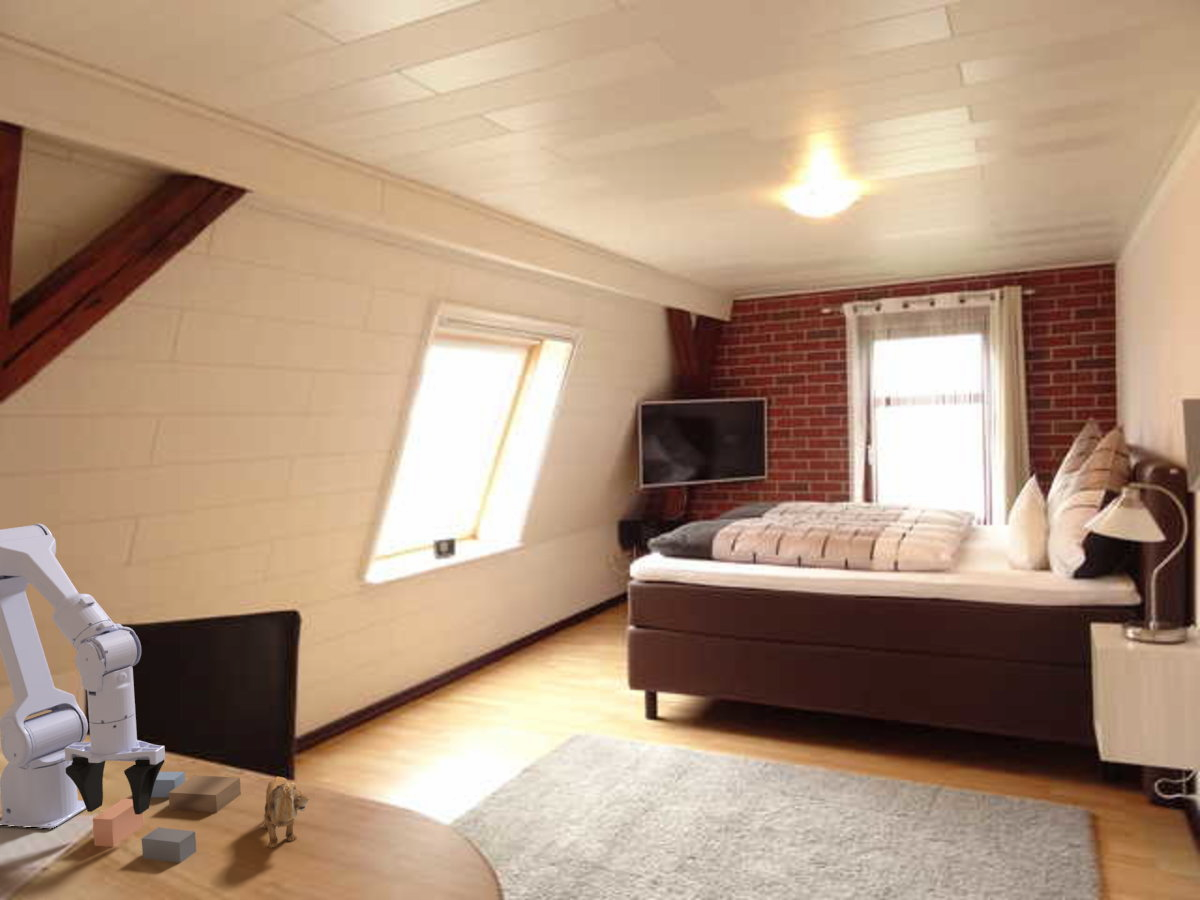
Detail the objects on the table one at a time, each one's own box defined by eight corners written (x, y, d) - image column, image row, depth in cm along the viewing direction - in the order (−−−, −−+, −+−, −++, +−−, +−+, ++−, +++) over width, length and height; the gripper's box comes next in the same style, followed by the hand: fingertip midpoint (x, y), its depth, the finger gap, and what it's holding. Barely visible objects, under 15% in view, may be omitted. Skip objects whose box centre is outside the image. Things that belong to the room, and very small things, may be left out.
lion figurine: (314, 847, 116) (310, 783, 115) (273, 860, 113) (270, 794, 112) (287, 807, 128) (284, 749, 128) (250, 817, 125) (247, 758, 125)
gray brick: (143, 859, 114) (141, 838, 114) (159, 848, 117) (158, 827, 117) (180, 864, 113) (179, 842, 113) (196, 852, 116) (195, 831, 116)
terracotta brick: (94, 846, 118) (92, 818, 118) (125, 825, 124) (123, 798, 124) (113, 847, 118) (111, 819, 117) (143, 826, 124) (142, 799, 123)
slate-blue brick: (138, 798, 133) (137, 779, 133) (150, 789, 136) (148, 771, 136) (175, 798, 132) (174, 779, 132) (185, 790, 135) (184, 771, 135)
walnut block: (169, 811, 128) (168, 792, 128) (195, 793, 134) (194, 775, 134) (217, 814, 127) (216, 795, 127) (240, 796, 133) (239, 777, 133)
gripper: (44, 725, 117) (51, 820, 118) (138, 728, 115) (144, 826, 115) (84, 707, 124) (90, 797, 125) (172, 710, 122) (178, 802, 122)
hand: (118, 809), depth 121 cm, fingers open, 7 cm apart
